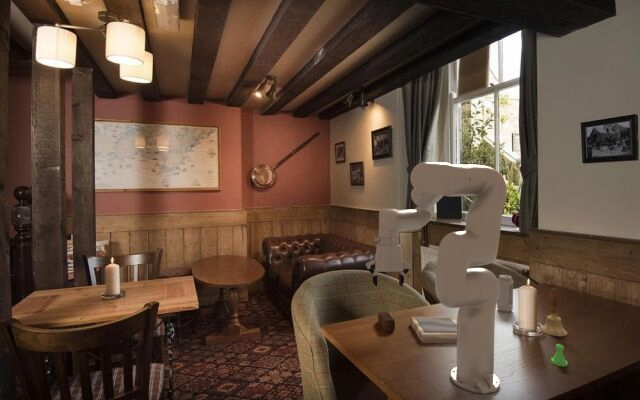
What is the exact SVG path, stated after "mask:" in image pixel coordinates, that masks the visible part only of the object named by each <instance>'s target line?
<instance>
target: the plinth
mask: <svg viewBox="0 0 640 400" xmlns="http://www.w3.org/2000/svg"><path fill="white" fill-rule="evenodd" d="M410 325H411V327H412V329H413V330H414V331H415V334H416V335H417V337H418V338H419V341H421V343H422V344H423V343H424V344H434V343H435V344H438V343H440V344H445V343H446V344H447V343H449V344H450V343H452V344H455V343H456V344H457V319H455V318H454V317H453V316H411V317H410Z"/></svg>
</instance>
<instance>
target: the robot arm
mask: <svg viewBox="0 0 640 400" xmlns="http://www.w3.org/2000/svg"><path fill="white" fill-rule="evenodd" d="M409 179H410V183H411V185H412V187H413V188H412V190H411V192H410V197H411V201H412V202H413V203H414V204H415V205H416V207H415V208H413V209H411V208H410V209H397V208H382V209H380V210H379V213H378V236H377V237H375V238H374V242H377V244H376V249H375V254H374V259H372V260H370V261H368V262H366V263H365V267H366V268H367V271H368V272H369V273H370V274H371V275H372V284H374V286H375V287H378V273H399V274H398V284H399V286H400V287H403V284H405V277H406V275H407V274H408V273H409V272H410V269H411V267H412V264H411V263H410V262H408V261H406V260H404V259H403V248H402V245H401V244H400V232H404V231H416V230H420V229H422V228H423V227H425V226H426V225H427V224H428V223H429V222H430V221H431V220H432V219H433V216H434V213H435V205H436V204H437V203H438V202H439V201H440V200H441V199H442V198H443V197H472V196H473V197H474V198H475V199H474V200H473V201H472V203H471V204H470V206H469V208H468V211H467V214H466V221H465V222H466V223H465V227H464V230H461V231H452V232H449V233H447V234H446V235H444V237H443V238H442V239H441V241H440V243H439V246H438V251H437V258H436V259H437V262H436V271H435V282H434V287H435V288H434V289H435V294H436V297H437V299H438V301H439V302H440V303H441V305H442V306H444V307H445V308H449V309H458V311H457V316H456V322H457V343H456V365H455V366H456V367H453V368H452V369H451V371H450V379H451V380H452V382H453V383H454V384H455V385H456V386H457V387H458V388H459V387H460V388H462V389H463V390H465V391H468V392H472V393H476V394H490V393H491V394H492V393H494V392H496V391H498V390H499V389H500V386H501V381H500V379H499V377H498V376H496V375H495V373H494V370H495V365H494V364H495V363H494V362H495V328H496V327H495V322H496V321H495V320H496V309H497V300H498V296H499V282H498V277H497V276H496V275H495V274H494V272H492V271H491V270H489V269H487V268H484V267H479V266H487V265H489V264H493V263H494V261H495V260H496V259H497V256H498V254H499V253H498V251H499V245H500V236H501V230H502V227H501V226H502V218H503V213H504V208H505V204H506V200H507V194H508V193H507V184H506V181H505V179H504V177H503V175H502V174H501V173H500V172H499V171H498V170H497V169H495V168H493V167H492V166H491V167H490V166H487V165H481V164H451V163H449V162H444V161H443V162H442V161H441V162H437V161H434V162H433V161H432V162H431V161H423V162H420V163H417V164H416V165H415V166H414V167H413V169H412V171H411V173H410V178H409ZM373 265H374V267H375V268H374V269H372V267H371V266H373ZM404 265H405V268H404Z"/></svg>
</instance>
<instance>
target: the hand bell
mask: <svg viewBox="0 0 640 400" xmlns="http://www.w3.org/2000/svg"><path fill="white" fill-rule="evenodd" d="M549 301H550V304H551V309H550V312H551V314H550V315H547V316H546V321H545V323H544V325H542V327H541V328H540V331H541V330H542V331H543V332H542V331H541V332H542V333H544V334H545V335H550V336H552V337H554V336H555V337H566V336H568V332H567V330H565V328H564V326H563V323H562V318H561V317H560V316H558V315H557V314H558V311H557V305H558V303H559V295H558V292H557V289H556V288H552V289H551V291H550V294H549Z"/></svg>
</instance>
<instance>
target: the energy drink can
mask: <svg viewBox="0 0 640 400" xmlns="http://www.w3.org/2000/svg"><path fill="white" fill-rule="evenodd" d="M497 280H498V282H499V296H498V300H497V305H496V309H498V311H499V310H500V311H499V312H501V311H503V312H502V313H505V312H510V311H511V312H512V311H513V309H514V308H513V307H514V306H513V305H514V279H513V278H512V275H507V274H499V275H498V277H497ZM511 312H510V313H511Z"/></svg>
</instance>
